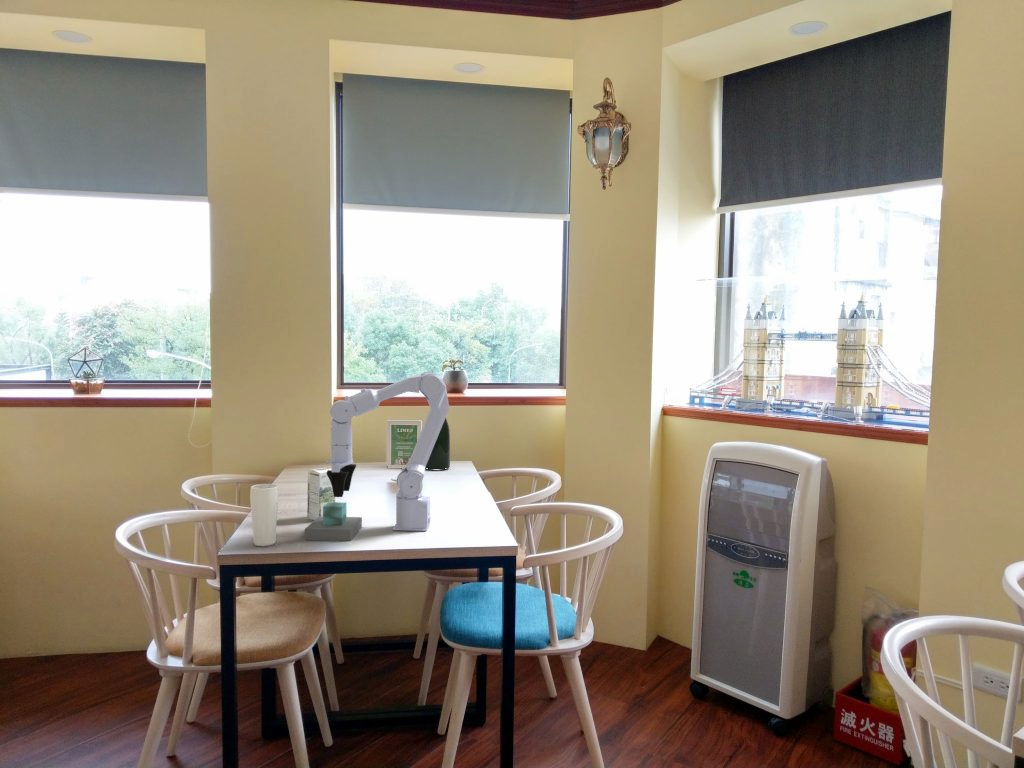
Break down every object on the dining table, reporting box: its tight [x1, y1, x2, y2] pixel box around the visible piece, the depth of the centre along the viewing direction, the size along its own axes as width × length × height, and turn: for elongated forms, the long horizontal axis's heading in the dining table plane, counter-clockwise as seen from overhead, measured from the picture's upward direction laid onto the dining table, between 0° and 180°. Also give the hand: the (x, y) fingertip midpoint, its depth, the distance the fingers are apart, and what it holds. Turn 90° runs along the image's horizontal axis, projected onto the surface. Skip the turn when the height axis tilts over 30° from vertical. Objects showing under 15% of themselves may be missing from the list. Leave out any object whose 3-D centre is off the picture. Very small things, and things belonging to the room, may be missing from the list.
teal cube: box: [323, 501, 347, 525], centre depth 194 cm, size 5×5×5 cm
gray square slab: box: [304, 516, 363, 542], centre depth 195 cm, size 12×13×3 cm
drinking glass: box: [249, 483, 279, 547], centre depth 183 cm, size 7×7×15 cm
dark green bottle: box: [425, 417, 451, 469], centre depth 292 cm, size 10×10×33 cm
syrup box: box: [307, 467, 336, 521], centre depth 210 cm, size 6×6×14 cm
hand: (341, 493), depth 197 cm, fingers open, 7 cm apart
